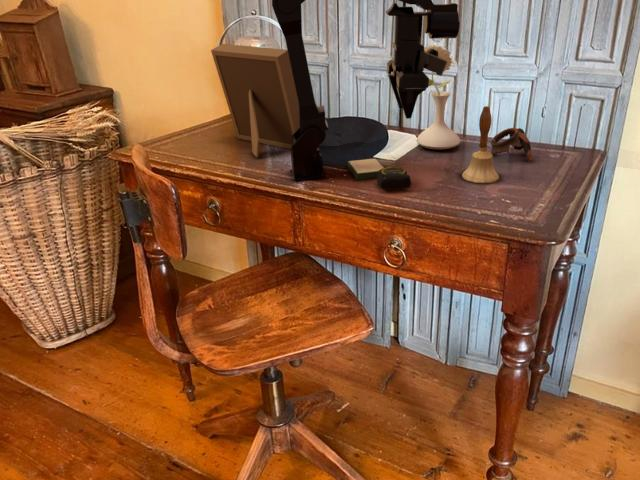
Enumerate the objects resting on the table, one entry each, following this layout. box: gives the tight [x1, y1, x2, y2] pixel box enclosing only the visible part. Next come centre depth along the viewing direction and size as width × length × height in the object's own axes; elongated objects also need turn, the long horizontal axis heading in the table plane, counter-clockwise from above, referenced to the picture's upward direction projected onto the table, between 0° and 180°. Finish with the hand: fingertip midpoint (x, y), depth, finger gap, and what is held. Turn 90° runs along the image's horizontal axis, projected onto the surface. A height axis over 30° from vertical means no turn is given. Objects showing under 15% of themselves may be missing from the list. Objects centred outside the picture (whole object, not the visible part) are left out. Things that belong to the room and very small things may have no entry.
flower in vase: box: [416, 44, 461, 151], centre depth 145 cm, size 13×11×25 cm
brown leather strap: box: [490, 127, 533, 163], centre depth 142 cm, size 12×10×8 cm
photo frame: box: [210, 43, 300, 158], centre depth 146 cm, size 15×22×25 cm
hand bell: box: [461, 105, 500, 184], centre depth 127 cm, size 8×8×16 cm
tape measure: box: [376, 166, 412, 191], centre depth 125 cm, size 7×7×4 cm
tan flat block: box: [346, 158, 384, 181], centre depth 134 cm, size 7×9×2 cm
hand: (404, 113), depth 129 cm, fingers open, 9 cm apart
